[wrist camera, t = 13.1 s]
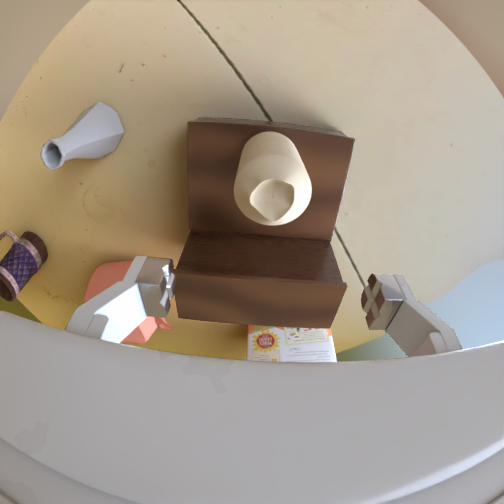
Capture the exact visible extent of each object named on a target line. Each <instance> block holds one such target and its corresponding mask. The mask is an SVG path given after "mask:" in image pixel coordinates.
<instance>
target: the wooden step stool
mask: <svg viewBox="0 0 504 504" xmlns="http://www.w3.org/2000/svg"><path fill="white" fill-rule="evenodd" d="M262 132H277V133H280V134H282V135H284V136H286V137H287V138H289V139H290V140H291V141H292V143H293V144H294V146H295V147H296V149H297V151H298V153H299V156H300V158H301V160H302V162H303V164H304V167H305V169H306V171H307V173H308V176H309V178H310V181H311V187H312V193H311V198H310V201H309V204H308V206H307V208H306V209H305V210H304V212H303V213H302V214H301V215H300V216H298V217H297V218H296V219H294V220H292V221H290V222H288V223H285V224H281V225H264V224H260V223H257V222H255V221H253V220H251V219H249V218H248V217H247V216H245V215H244V214H243V213H242V212H241V210H240V209H239V207H238V205H237V204H236V201H235V197H234V183H235V179H236V175H237V170H238V166H239V162H240V158H241V154H242V150H243V148H244V146H245V144H246V143H247V141H248V140H249V139H250V138H252V137H253V136H255V135H257V134H259V133H262ZM354 142H355V139H354V138H352V137H347V136H346V135H345V134H344V133H342V132H340V131H335V130H329V129H323V128H317V127H311V126H304V125H297V124H289V123H281V122H271V121H261V120H248V119H232V118H206V117H199V118H198V119H196V120H195V121H189V122H188V200H189V225H190V230H191V231H190V234H189V236H188V239H187V241H186V244H185V247H184V249H183V252H182V254H181V257H180V260H179V262H178V265H177V268H176V269H173V271H172V273H173V274H174V275H175V282H176V286H175V293H174V294H175V300H176V306H177V312H178V318H183V319H191V320H200V321H210V322H220V323H231V324H243V325H257V326H272V327H292V328H322V329H330V327H331V325H332V322H333V320H334V318H335V315H336V313H337V311H338V308H339V306H340V303H341V301H342V299H343V296H344V294H345V291H346V289H347V284H346V282H343V280H342V277H341V274H340V271H339V268H338V265H337V262H336V259H335V256H334V253H333V250H332V247H331V244H330V242H331V239H332V235H333V232H334V228H335V224H336V220H337V216H338V213H339V209H340V205H341V201H342V196H343V192H344V188H345V184H346V179H347V175H348V170H349V166H350V161H351V157H352V152H353V147H354Z"/></svg>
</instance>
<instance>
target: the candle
mask: <svg viewBox="0 0 504 504" xmlns="http://www.w3.org/2000/svg"><path fill="white" fill-rule="evenodd" d="M311 193H312V187H311V181H310V178H309V176H308V173H307V171H306V169H305V167H304V164H303V162H302V160H301V158H300V156H299V153H298V151H297V149H296V147H295V146H294V144H293V143H292V141H291V140H290V139H289V138H287V137H286V136H284V135H282V134H280V133H277V132H262V133H259V134H257V135H255V136H253V137H252V138H250V139H249V140H248V141H247V143H246V144H245V146H244V148H243V150H242V154H241V158H240V162H239V166H238V170H237V175H236V179H235V183H234V197H235V201H236V204H237V205H238V207H239V209H240V210H241V212H242V213H243V214H244V215H245V216H247V217H248V218H249V219H251V220H253V221H255V222H257V223H260V224H264V225H281V224H285V223H288V222H290V221H292V220H294V219H296V218H297V217H298V216H300V215H301V214H302V213H303V212H304V210H305V209H306V208H307V206H308V204H309V201H310V198H311Z"/></svg>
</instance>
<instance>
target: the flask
mask: <svg viewBox="0 0 504 504" xmlns="http://www.w3.org/2000/svg"><path fill="white" fill-rule="evenodd" d="M123 134H124V129H123V127H122V124H121V121H120V119H119V116H118V113H117V111H115V110H114V109H112V108H110V107H109V106H107V105H106V104H104V103H102V102H101V101H100V102H98V103H96V104H94V105H93V106H91V107H89V108H88V109H86V110H84V111H83V112H82V113H81V114H80V115H79V117H78V118H77V119H76V120H75V122H74V123H73V124H72V125H71V126H70V128H69V129H68V130H67V131H66V132H65V133H64V134H63V135H62V136H61V137H60V138H58V139H54V138H52V139H50V140H49V141H47V142H46V143H44V144H43V147H42V151H41V154H40V155H41V158H42V160H43V163H44V165H45V166H46V167H48V168H49V169H50V170H52V171H54V170H56V169H57V168H59V167H61V166H62V165H63V162H64V161H66V160H70V159H73V158H91V159H99V158H101V157H103V156H105V155H107V154H109V153H111V152H114V151H115V150H116V148H117V146H118V144H119V142H120V140H121V138H122V136H123Z"/></svg>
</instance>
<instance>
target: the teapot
mask: <svg viewBox="0 0 504 504" xmlns="http://www.w3.org/2000/svg"><path fill="white" fill-rule="evenodd" d="M132 262H133V260H132V261H117V262H109V263H104V264H102V265H100V266H98V267H97V268H96V269H95V270H94V272H93V274H92V276H91V278H90V280H89V283H88V285H87V289H86V293H85V297H84V302H83V303H85V302H87V301H88V300H90V299H91V298H93V297H95V296H96V295H98V294H99V293H101V292H102V291H104V290H105V289H107V288H109V287H110V286H112V285H113V284H115V283H117V282H118V281H122V280H123V278H124V276H125V275H126V273H127V271H128V269H129V267H130V265H131V263H132ZM157 326H158V327H160V328H162V329H166V330H172V329H173V327H172V326H171V325H169V324H168V323H166V321H165V318H159V317H150V316H147V318H146V319H145V320H144V321H142V322H141V323H140V324H139V325H138V326H137V327H136V328H135V329H134V330H133V331H132V332H131V333H130V334H129V335H128V336H126V337H125V338H124V339H123V340H122V341H121V342H127V343H145V342H147V341H148V339H149V338H150V337H151V335H152V334H153V332H154V331H155V329H156V328H157Z"/></svg>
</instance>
